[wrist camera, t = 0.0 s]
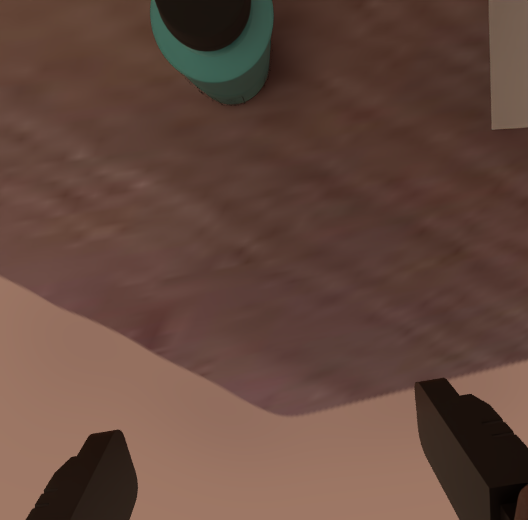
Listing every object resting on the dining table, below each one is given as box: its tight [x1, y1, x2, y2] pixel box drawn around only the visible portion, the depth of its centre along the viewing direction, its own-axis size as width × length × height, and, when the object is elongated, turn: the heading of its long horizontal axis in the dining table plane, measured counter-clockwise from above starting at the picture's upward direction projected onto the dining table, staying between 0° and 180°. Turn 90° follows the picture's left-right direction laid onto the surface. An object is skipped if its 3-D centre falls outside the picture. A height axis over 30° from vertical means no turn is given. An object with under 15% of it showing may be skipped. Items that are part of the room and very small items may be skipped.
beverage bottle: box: [150, 0, 274, 106], centre depth 26 cm, size 6×7×20 cm
